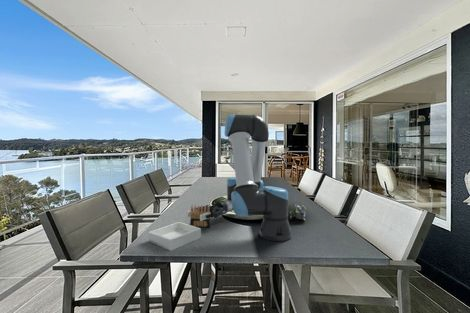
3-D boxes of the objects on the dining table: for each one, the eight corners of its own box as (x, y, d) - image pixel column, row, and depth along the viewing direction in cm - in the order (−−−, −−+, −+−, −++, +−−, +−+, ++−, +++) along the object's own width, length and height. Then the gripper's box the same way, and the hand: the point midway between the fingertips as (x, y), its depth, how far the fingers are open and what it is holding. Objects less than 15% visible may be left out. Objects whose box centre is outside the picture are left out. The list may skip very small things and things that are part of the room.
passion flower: (303, 229, 145) (310, 216, 138) (284, 226, 145) (291, 213, 137) (300, 213, 154) (307, 200, 146) (283, 210, 153) (289, 197, 146)
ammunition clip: (190, 228, 132) (189, 205, 132) (191, 226, 134) (190, 204, 133) (210, 228, 131) (209, 206, 130) (210, 227, 133) (210, 205, 132)
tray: (201, 237, 119) (200, 228, 119) (170, 250, 106) (170, 240, 105) (179, 230, 129) (179, 221, 129) (148, 241, 115) (148, 231, 115)
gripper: (237, 216, 140) (209, 228, 122) (209, 210, 153) (179, 219, 136) (237, 203, 139) (209, 212, 122) (209, 197, 153) (179, 205, 135)
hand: (193, 216), depth 129 cm, fingers closed on ammunition clip, 9 cm apart
